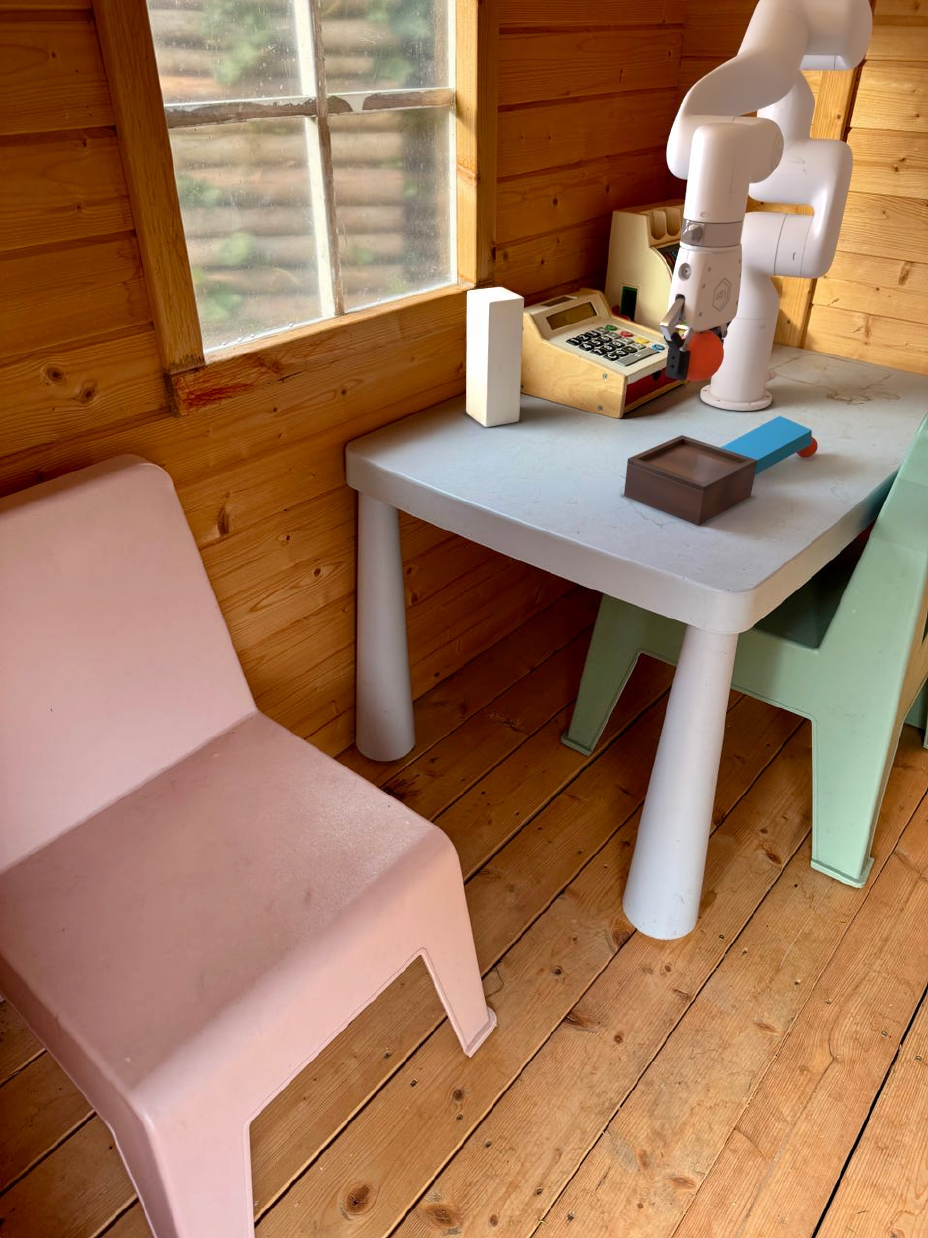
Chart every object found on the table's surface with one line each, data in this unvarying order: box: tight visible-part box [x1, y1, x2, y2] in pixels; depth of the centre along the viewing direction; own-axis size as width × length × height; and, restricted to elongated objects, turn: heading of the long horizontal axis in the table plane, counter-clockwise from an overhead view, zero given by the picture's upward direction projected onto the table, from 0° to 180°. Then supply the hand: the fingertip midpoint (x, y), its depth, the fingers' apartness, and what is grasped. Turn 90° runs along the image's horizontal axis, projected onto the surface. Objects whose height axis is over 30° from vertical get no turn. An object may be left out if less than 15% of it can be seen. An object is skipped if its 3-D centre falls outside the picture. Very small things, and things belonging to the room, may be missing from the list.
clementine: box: [664, 330, 724, 382], centre depth 124 cm, size 8×7×7 cm
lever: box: [720, 415, 819, 476], centre depth 140 cm, size 7×7×18 cm
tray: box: [623, 434, 758, 526], centre depth 131 cm, size 13×13×6 cm
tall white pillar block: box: [465, 286, 525, 428], centre depth 153 cm, size 8×7×21 cm
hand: (692, 370), depth 125 cm, fingers closed on clementine, 7 cm apart
